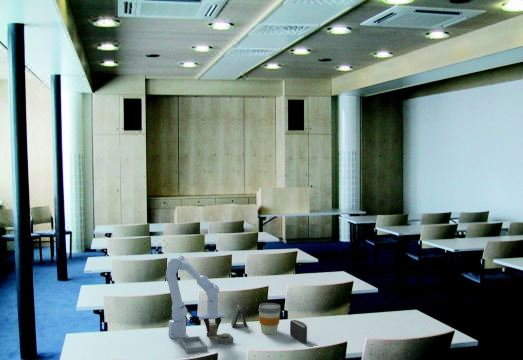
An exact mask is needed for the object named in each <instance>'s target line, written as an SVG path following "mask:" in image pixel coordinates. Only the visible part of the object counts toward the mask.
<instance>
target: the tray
mask: <svg viewBox="0 0 523 360" xmlns="http://www.w3.org/2000/svg"><path fill="white" fill-rule="evenodd" d="M179 343H180V344H181V347H183V349H184V350H185V353H187V354H192V353H198V352H199V353H200V352H201V353H202V352H207V351H208V345H207V344H206V342H205V341H204V340H203V338H202V337H201V336H199V335H197V336H188V337H179Z"/></svg>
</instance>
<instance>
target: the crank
mask: <svg viewBox="0 0 523 360" xmlns="http://www.w3.org/2000/svg"><path fill="white" fill-rule="evenodd" d="M229 334H230V333H228V332H225V333H221V334H219V333H218V334H217V335H212V333H211V332H207V331H206V337H207V338H208V339H217V338H219V337H229Z"/></svg>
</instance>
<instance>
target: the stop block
mask: <svg viewBox="0 0 523 360" xmlns="http://www.w3.org/2000/svg"><path fill="white" fill-rule="evenodd" d="M209 332H211V333H212V335H218V331H217V324H216V323H215V321H213V322H210V324H209Z"/></svg>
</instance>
